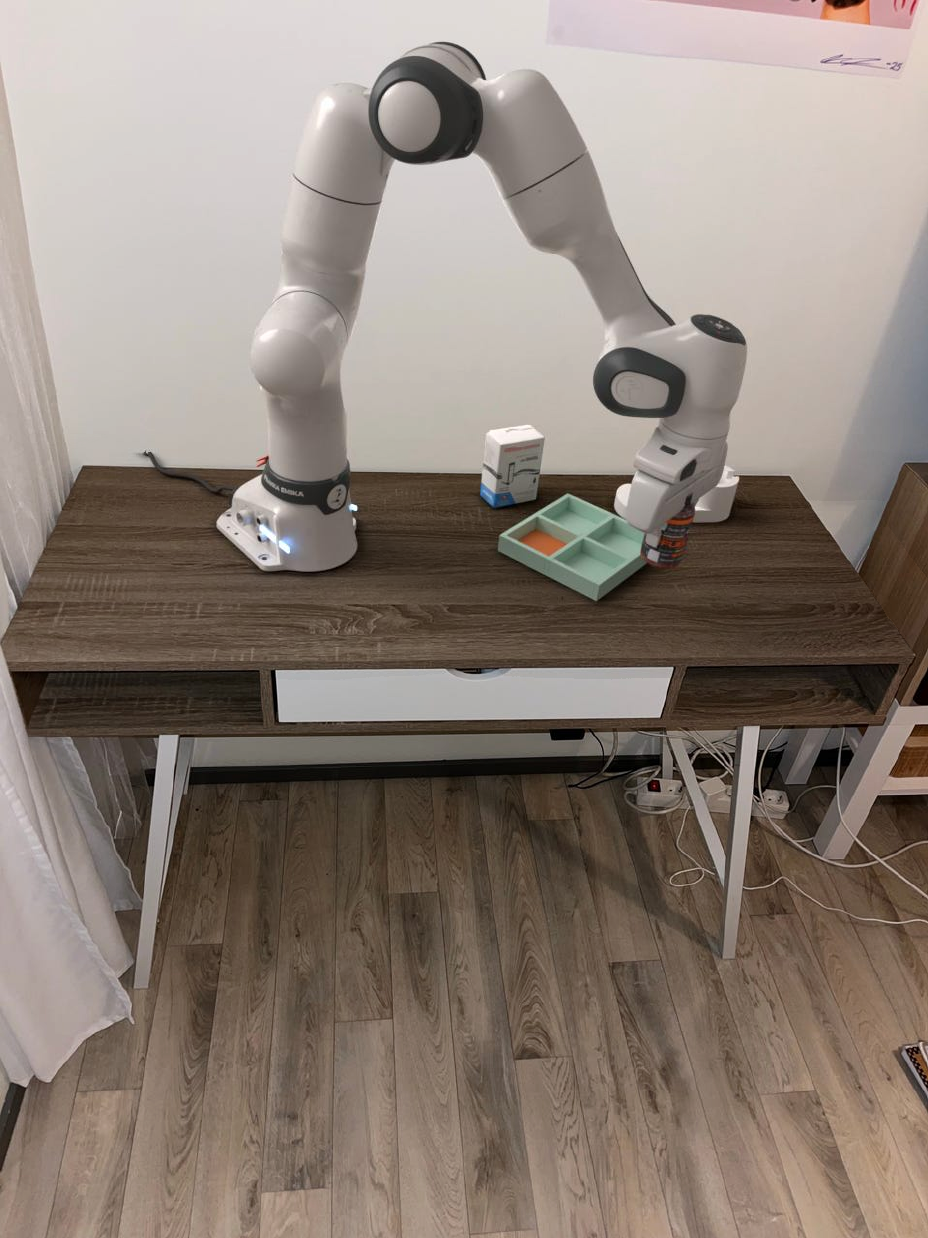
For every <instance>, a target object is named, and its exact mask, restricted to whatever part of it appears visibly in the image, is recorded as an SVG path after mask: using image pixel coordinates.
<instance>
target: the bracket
mask: <svg viewBox="0 0 928 1238" xmlns="http://www.w3.org/2000/svg"><path fill="white" fill-rule="evenodd" d="M735 473H736V470H734V469H733V468H732V467H730V466H728V465H726V464H725V465H724V470H723V474H722V477H721V479H720V481H719V483H718V485H717V486H716V487H714V488H713V489H712V490H710V491H709V492H707V493H706V494H705V495H703V496H702V497H700V498H699V500H698V502H697V504H696V506H695V515H694V519H693V523H719V522H723V521H725V520H727V519H728V518H729V516H730V514H731V509H732V506H733V502H734V499H735V496H736V492H737V488H738V484H739V481H740V476H739V475H738V476H735ZM631 484H632V483H624V484H622V485H620V486H619V487H618V488H617V490H616V492H615V498H614V503H613V508H614V510H615V512H616V513H617V514H618V515H619V517H621V518H623V519H625V520H626V509H627V503H628V498H629V493H630V488H631Z"/></svg>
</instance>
